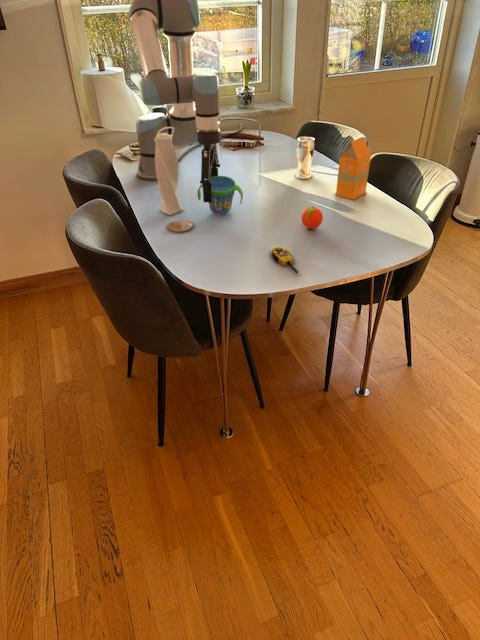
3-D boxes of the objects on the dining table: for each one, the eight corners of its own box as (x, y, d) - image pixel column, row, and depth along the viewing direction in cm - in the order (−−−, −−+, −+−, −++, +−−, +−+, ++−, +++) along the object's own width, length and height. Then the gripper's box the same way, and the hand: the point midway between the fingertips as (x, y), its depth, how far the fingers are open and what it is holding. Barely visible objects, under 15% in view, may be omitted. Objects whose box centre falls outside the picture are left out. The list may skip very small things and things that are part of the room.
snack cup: (245, 204, 169) (246, 178, 162) (238, 221, 162) (238, 195, 155) (203, 197, 172) (202, 172, 164) (194, 214, 165) (193, 188, 157)
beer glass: (292, 178, 194) (295, 140, 185) (297, 172, 199) (300, 135, 190) (309, 180, 192) (312, 142, 183) (313, 174, 197) (316, 137, 188)
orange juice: (365, 193, 180) (373, 138, 168) (353, 199, 174) (360, 144, 163) (348, 188, 184) (354, 134, 172) (335, 194, 179) (341, 140, 167)
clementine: (315, 235, 151) (317, 214, 147) (295, 230, 154) (296, 209, 150) (325, 226, 156) (327, 205, 152) (306, 221, 159) (307, 201, 155)
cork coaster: (171, 221, 161) (171, 220, 161) (194, 222, 160) (194, 221, 160) (165, 231, 154) (165, 230, 154) (189, 232, 154) (189, 231, 153)
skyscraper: (174, 204, 173) (166, 124, 156) (187, 210, 168) (180, 128, 152) (156, 211, 168) (146, 129, 152) (169, 217, 164) (160, 133, 147)
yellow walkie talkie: (283, 244, 142) (305, 267, 130) (283, 250, 143) (305, 273, 131) (268, 247, 141) (289, 270, 129) (268, 253, 142) (289, 276, 130)
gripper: (213, 140, 138) (216, 209, 151) (225, 119, 158) (227, 181, 171) (188, 140, 139) (193, 208, 151) (203, 118, 159) (206, 180, 171)
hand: (211, 194), depth 161 cm, fingers open, 13 cm apart
